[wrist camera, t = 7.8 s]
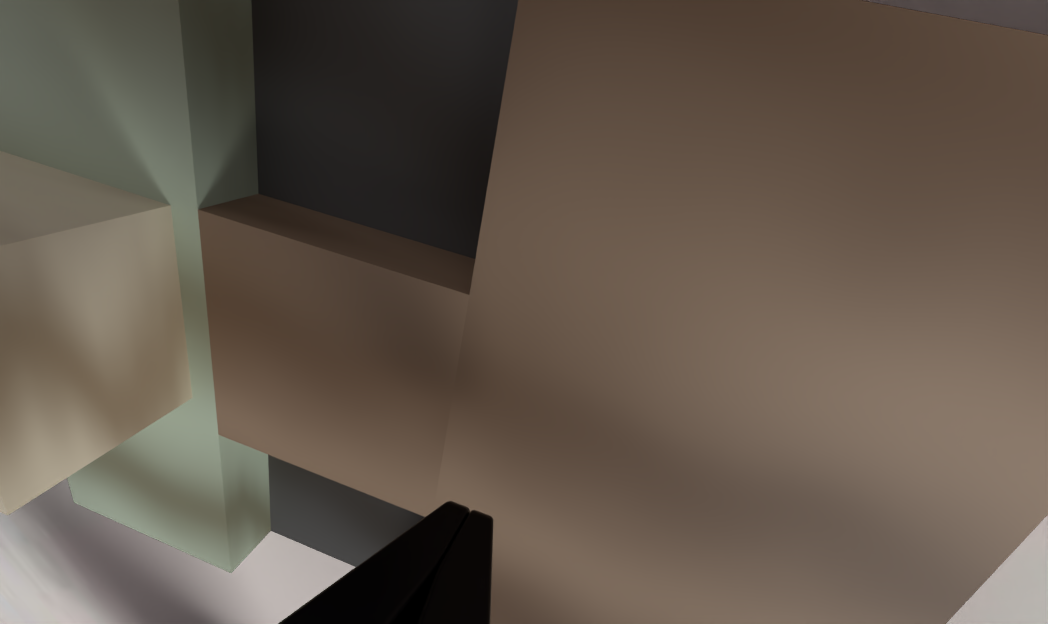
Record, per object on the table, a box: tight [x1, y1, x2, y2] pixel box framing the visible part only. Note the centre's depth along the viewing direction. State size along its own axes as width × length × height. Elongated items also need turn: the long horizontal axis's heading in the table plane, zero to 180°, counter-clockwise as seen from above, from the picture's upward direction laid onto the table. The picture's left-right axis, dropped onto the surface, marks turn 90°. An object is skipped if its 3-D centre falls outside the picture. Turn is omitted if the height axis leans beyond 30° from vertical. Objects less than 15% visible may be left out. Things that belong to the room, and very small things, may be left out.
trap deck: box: [0, 0, 1048, 624], centre depth 12 cm, size 17×22×2 cm
